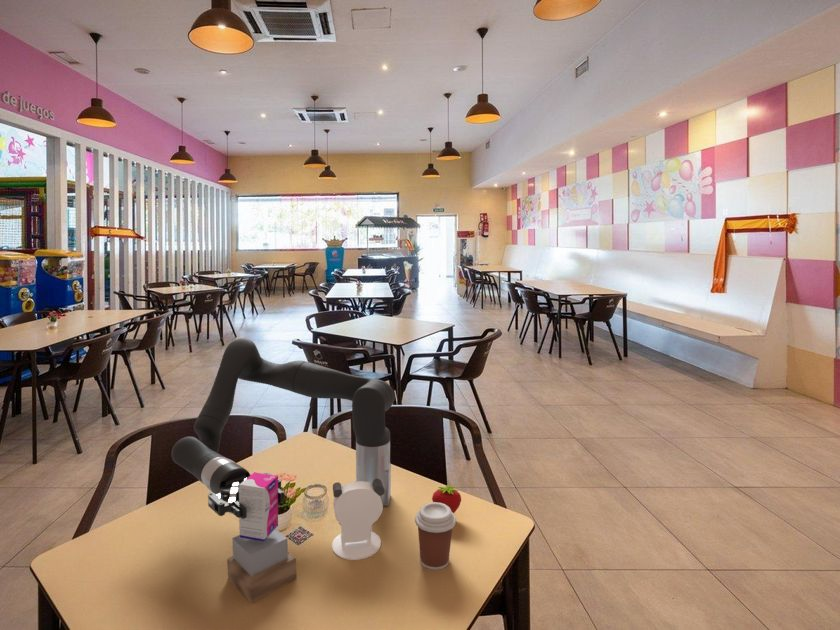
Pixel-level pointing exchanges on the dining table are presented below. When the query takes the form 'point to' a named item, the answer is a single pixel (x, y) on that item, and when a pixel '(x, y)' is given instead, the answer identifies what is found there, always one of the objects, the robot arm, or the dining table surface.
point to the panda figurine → (357, 518)
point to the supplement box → (259, 506)
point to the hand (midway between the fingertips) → (264, 505)
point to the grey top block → (260, 552)
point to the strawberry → (447, 497)
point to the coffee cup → (435, 534)
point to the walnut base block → (261, 578)
